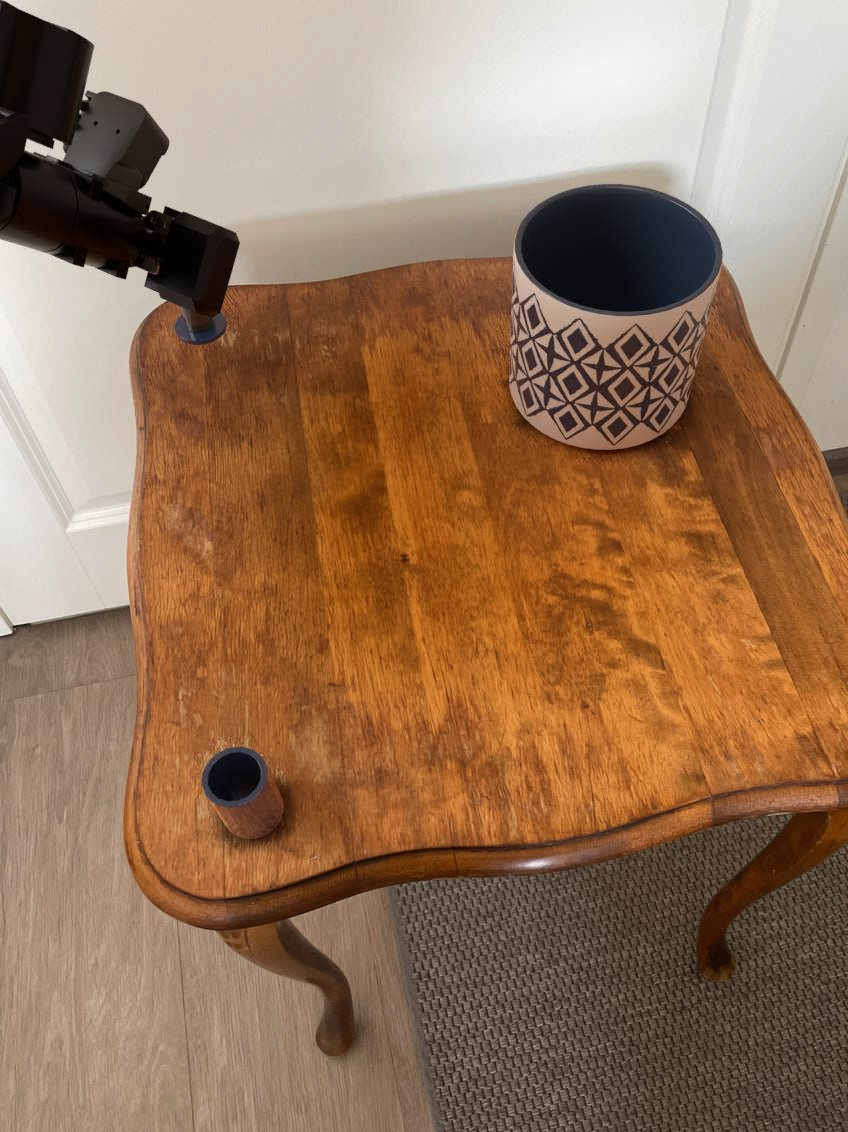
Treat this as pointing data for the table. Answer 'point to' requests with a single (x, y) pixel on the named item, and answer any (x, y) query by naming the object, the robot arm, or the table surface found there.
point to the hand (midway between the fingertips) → (193, 259)
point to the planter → (609, 313)
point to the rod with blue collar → (199, 327)
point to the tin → (243, 792)
